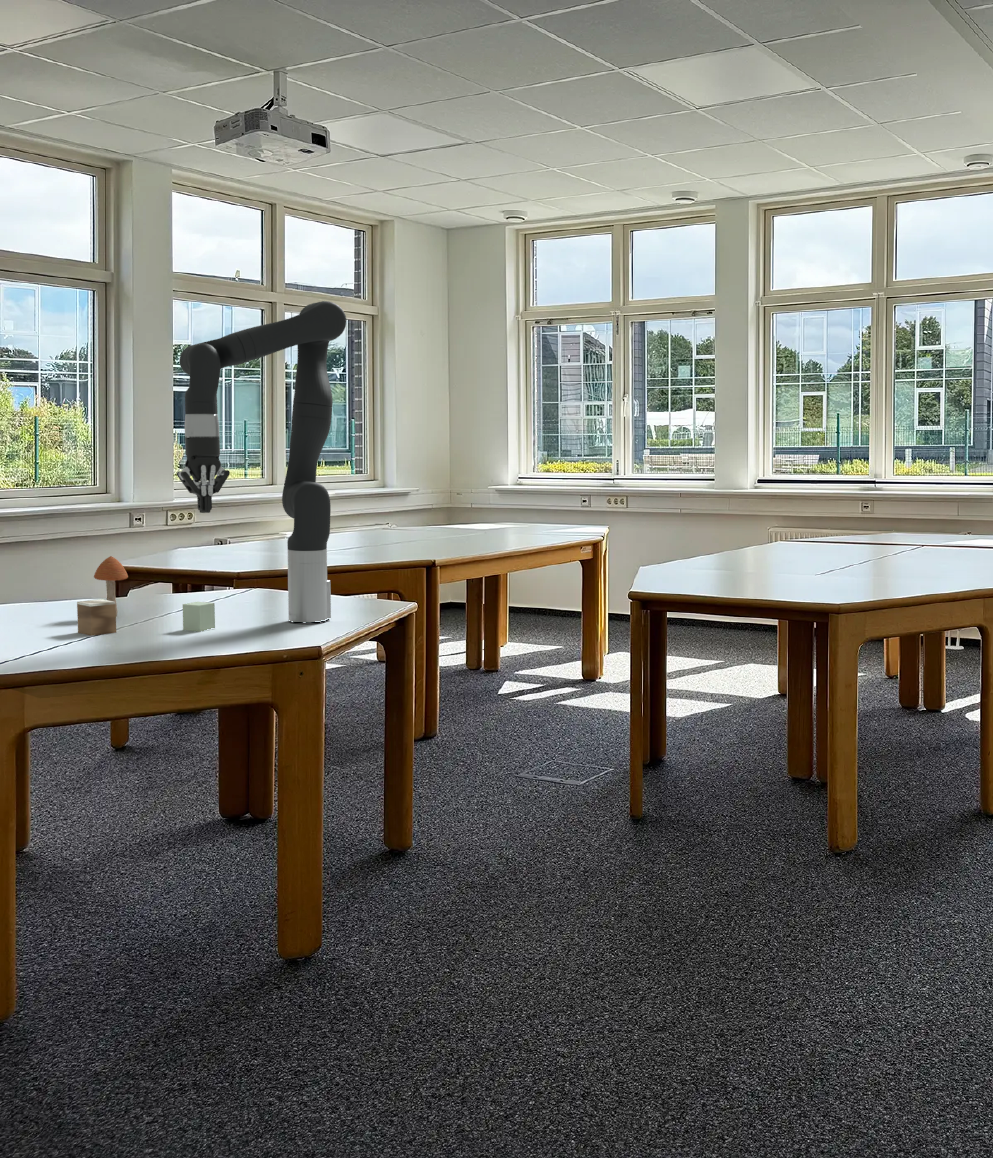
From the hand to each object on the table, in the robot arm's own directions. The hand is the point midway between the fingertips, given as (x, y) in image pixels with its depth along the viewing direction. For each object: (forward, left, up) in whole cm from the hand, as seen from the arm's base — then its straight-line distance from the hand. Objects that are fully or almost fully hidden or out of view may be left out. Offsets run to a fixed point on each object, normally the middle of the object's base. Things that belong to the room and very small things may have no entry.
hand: (204, 512), depth 266 cm
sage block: (+1, -2, -27) cm, 27 cm away
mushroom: (+5, -33, -27) cm, 43 cm away
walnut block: (+19, -14, -20) cm, 31 cm away
